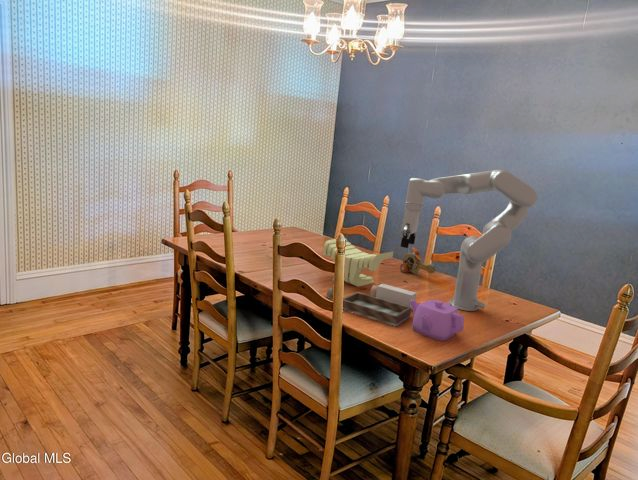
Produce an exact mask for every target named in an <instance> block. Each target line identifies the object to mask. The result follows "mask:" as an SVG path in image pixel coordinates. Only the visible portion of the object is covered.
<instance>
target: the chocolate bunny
mask: <svg viewBox="0 0 638 480" xmlns="http://www.w3.org/2000/svg"><path fill="white" fill-rule="evenodd" d="M334 278H335V277H333V278H331V279H332V280H331V283H332V285H333V284H334ZM326 293H327V294H326V295H327V297H329V298H330V299H329V300H331V299H333V287H331V288H329V289H327V292H326ZM326 295H325V296H326ZM327 297H326V298H327Z"/></svg>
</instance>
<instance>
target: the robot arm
mask: <svg viewBox="0 0 638 480" xmlns="http://www.w3.org/2000/svg"><path fill="white" fill-rule="evenodd" d="M493 191H498V192H499V193H500V194H502V195H503V196H505V197H506V198H507V199H509V200H508V201H509V202H508V203H507V206H506V208H505V209H503V211H502V212H500V213H499V214H498V215H497V216H495V217H494V218H492V220H490V221H489V222H487V223H486V224H485V225H484V226H483V228H482V235H481V236H475V235H470V236H467V237H466V238H464V239H463V240H462V242H461V245H460V253H459V263H458V270H457V276H456V282H455V287H454V295H453V298H452V299H449V302H448V303H450V304H452V306H453V307H455V308H457V309H458V310H460V311H466V312H475V311H477V310H479V308H482V309H486V303H485V302H484V301H483V302H482V301H480V300H479V297H477V296H478V290H479V286H480V281H481V274H482V268H483V263H484V262H487V261H488V260H490V259H491V258H492V257H493V256H495V255H496V254H497V253H499V252H501V251H502V250H503V248H505V247H506V246H507V245H508V244H509V243H510V242H511V239H512V232H513V230H514V229H516V228H517V227H518V226H519V225H520V224H521V223H522V222H524V220H525V218H526V217H527V215H528V212H529V208H531V207H533V206H535V204H536V203H537V200H538V192H537V191H536V190H535V188H533V187H532V186H531V185H529V184H527V183H526V182H524V181H523V180H521V179H520V178H519V177H517V176H515V174H513V173H511V172H510V171H508V170H504V169H492V170H491V169H490V170H486V171H479V172H473V173H472V172H471V173H465V174H459V175H451V176H445V177H437V178H436V177H435V178H432V179H429V180H425V179H423V178H419V177H411V178H410V179H409V180H408V186H407V193H406V198H405V204H404V210H405V211H404V215H403V220H402V224H401V229H400V232H401V233H402V236H401V242H400V248H405V249H408V248H409V245H415V241H416V235H417V231H418V227H419V222H420V213H422V212H423V209H424V204H425V203H424V201H425V197H427V198H430V199H434V200H438V199H441V198H442V197H443V196H444V195H448V194H449V195H450V194H464V195H473V194H479V193H487V192H493Z"/></svg>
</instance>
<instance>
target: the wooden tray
mask: <svg viewBox="0 0 638 480" xmlns="http://www.w3.org/2000/svg"><path fill="white" fill-rule="evenodd" d="M342 299H343V309H344V310H343V311H345V310H346V311H345V312H348V311H350V312H349V313H351V312H353V313H352V314H354V313H356V314H355V315H357V314H359V315H358V316H360V315H362V316H361V317H364V316H365V317H364V318H367V317H369V318H368V319H370V318H372V319H371V320H373V319H375V320H374V321H376V320H378V321H377V322H379V321H381V322H380V323H382V322H384V323H383V324H386V323H387V324H386V325H389V324H390V325H389V326H392V325H393V326H392V327H395V326H396V327H397V326H399V325H400V324H402V323H403V322H404V321H406V320H408V319H409V318H410V317H411V313H412V312H411V311H412V310H411V307H408V306H404V305H401V304H397V303H394V302H390V301H387V300H384V299H380V298H377V297H373V296H371V295H370V294H366V293H362V292H359V291H356V292H354V293H352V294H350V295H347V296H345V297H343V298H342Z"/></svg>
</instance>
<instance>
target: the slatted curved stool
mask: <svg viewBox="0 0 638 480" xmlns="http://www.w3.org/2000/svg"><path fill="white" fill-rule="evenodd" d="M344 238H345V240H346V247H345V283H347V284H351V285H353V286H355V287H362V286H366V285H369V284H373V283H375V280H374V277H373V276H368V275H366V274H363V273H361V272H362V271H363V269H364V268H365V269H368V270H369V271H370V272H374V271H377V270H378V268H379V265H380V264H381V263H382V262H383V261H384V260H385V261H386V260H387V259H390V258H393V256H394V251H387V252H382V253H380V254H379V253H378V254H373V253H371V254H370V253H367V252H364V251H363V250H360V249H359V248H356V246H354V245H352V243H351V242H350V241H348V240H347V238H346V237H344ZM336 239H337V238H333V239H328V240H326V241H325V243H324V244H323V248H322V256H326V257H330V258H331V259H332V260H333V261H335V260H334V259H335V254H336V250H337V248H336Z"/></svg>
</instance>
